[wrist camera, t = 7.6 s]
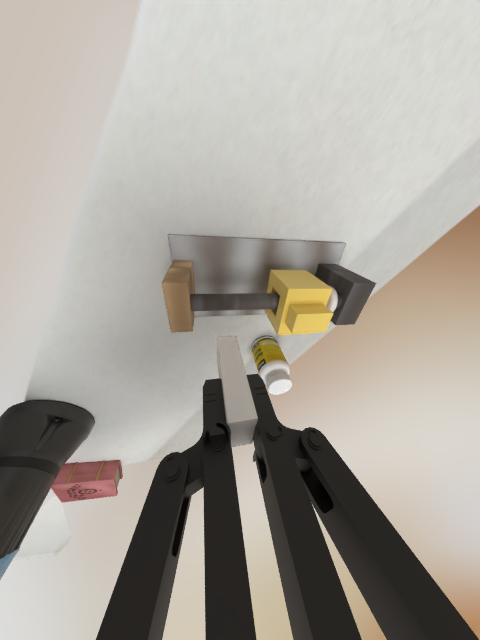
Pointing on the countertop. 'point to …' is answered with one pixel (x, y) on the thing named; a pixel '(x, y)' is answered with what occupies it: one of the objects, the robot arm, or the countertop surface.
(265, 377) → the supplement bottle
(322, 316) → the sleeve
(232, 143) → the countertop surface
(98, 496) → the book
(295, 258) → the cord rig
